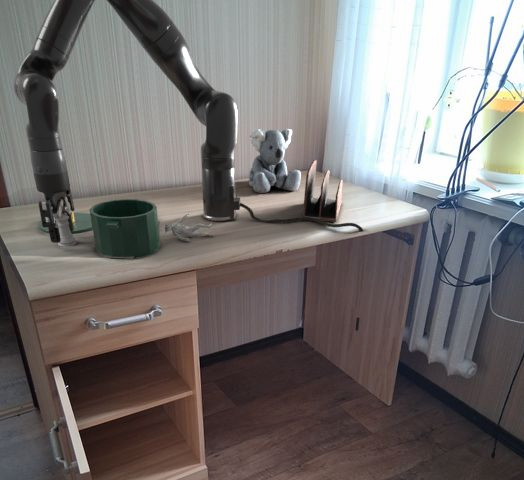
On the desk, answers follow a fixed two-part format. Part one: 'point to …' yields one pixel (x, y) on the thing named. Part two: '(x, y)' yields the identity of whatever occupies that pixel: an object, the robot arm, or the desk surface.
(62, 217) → the rook chess piece
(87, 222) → the lid
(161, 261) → the desk surface
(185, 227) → the soldier figure
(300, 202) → the desk surface
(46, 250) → the desk surface
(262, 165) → the koala plush
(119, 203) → the pot
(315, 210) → the letter holder
